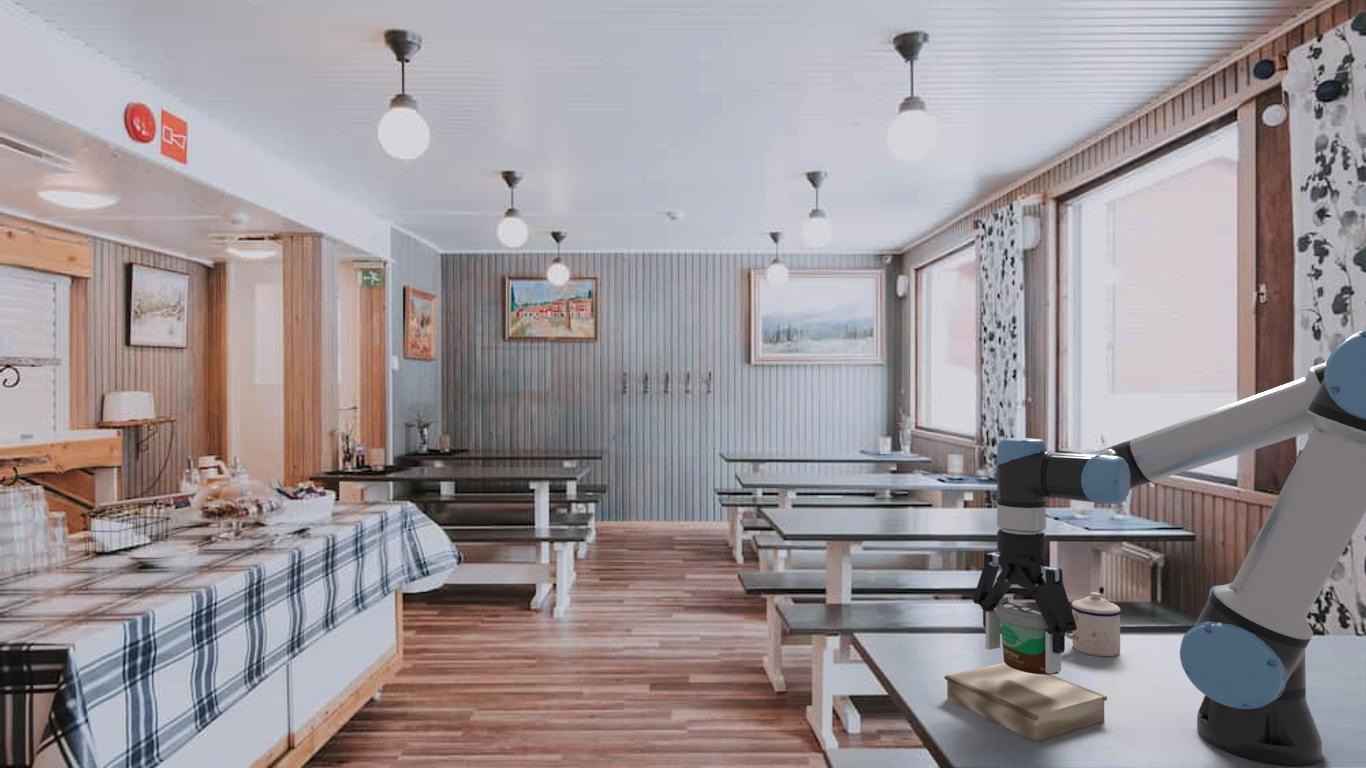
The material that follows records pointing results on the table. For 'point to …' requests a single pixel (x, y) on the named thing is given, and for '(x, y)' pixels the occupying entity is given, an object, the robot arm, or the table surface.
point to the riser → (1026, 700)
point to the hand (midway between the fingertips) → (1021, 659)
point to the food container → (1023, 637)
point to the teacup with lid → (1096, 626)
